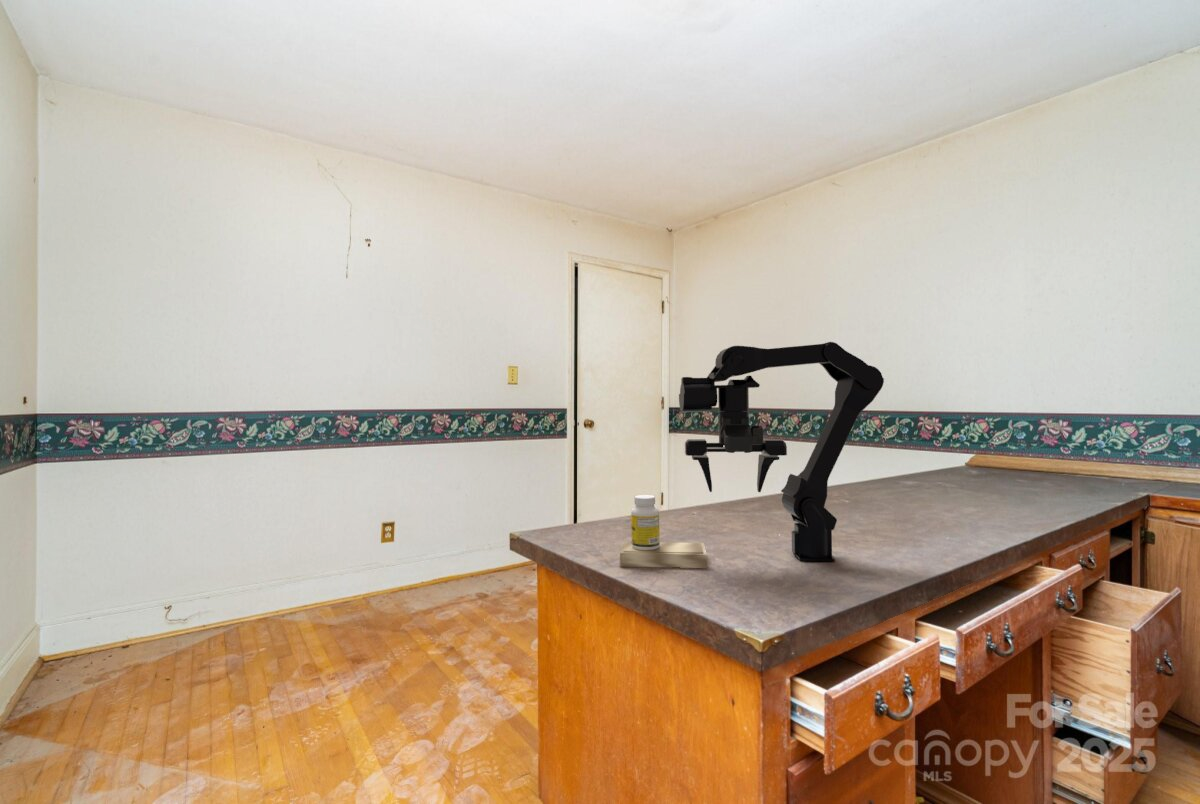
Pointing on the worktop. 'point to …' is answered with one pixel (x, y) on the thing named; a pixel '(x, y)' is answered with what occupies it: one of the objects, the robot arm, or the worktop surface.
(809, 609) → the worktop surface
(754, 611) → the worktop surface
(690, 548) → the birch plinth
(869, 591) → the worktop surface
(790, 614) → the worktop surface
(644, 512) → the supplement bottle
